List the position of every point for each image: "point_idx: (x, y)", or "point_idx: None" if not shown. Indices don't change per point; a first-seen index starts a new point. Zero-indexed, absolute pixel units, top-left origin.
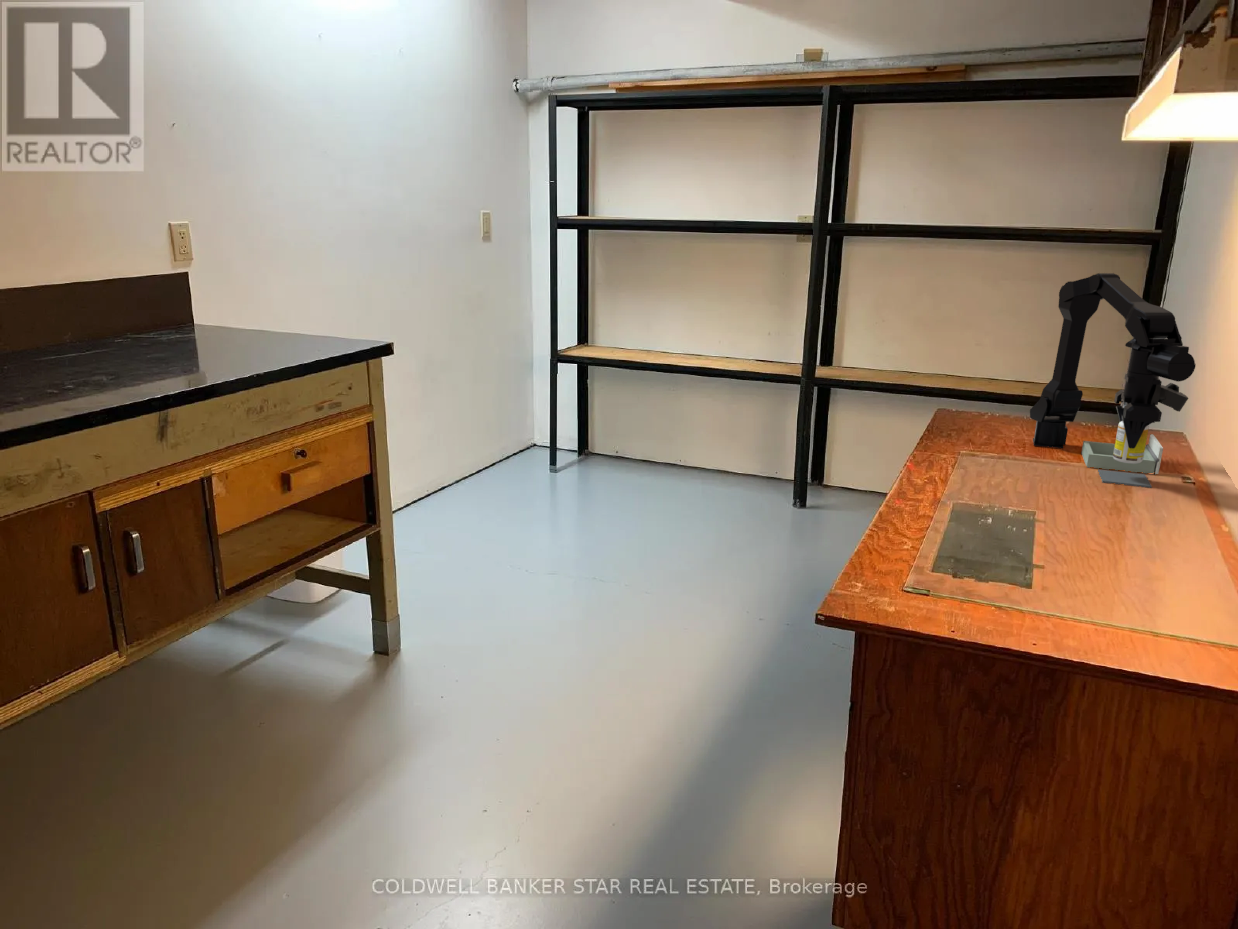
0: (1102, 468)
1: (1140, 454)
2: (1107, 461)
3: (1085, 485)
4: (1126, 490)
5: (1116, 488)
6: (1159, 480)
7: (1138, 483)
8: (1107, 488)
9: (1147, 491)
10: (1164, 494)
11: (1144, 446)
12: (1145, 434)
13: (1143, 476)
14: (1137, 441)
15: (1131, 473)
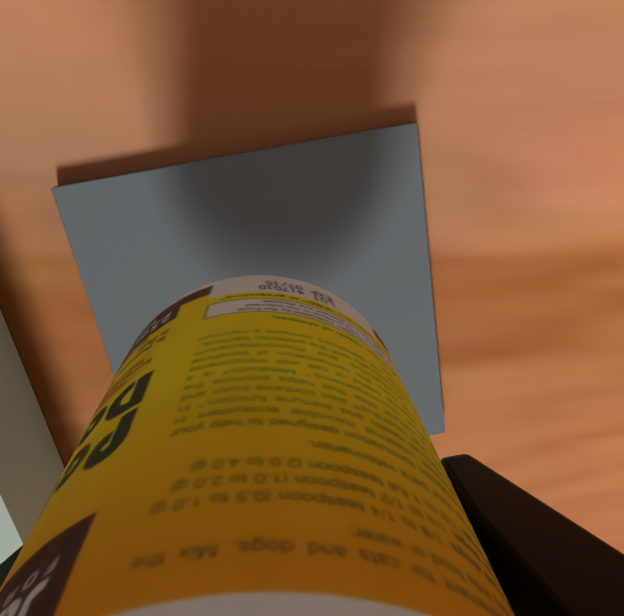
0: (61, 463)
1: (358, 336)
2: (26, 480)
3: (556, 493)
4: (566, 281)
5: (543, 340)
6: (111, 63)
7: (389, 221)
8: (569, 386)
9: (528, 146)
10: (559, 16)
11: (322, 357)
12: (398, 515)
13: (135, 196)
14: (552, 513)
15: (100, 285)
